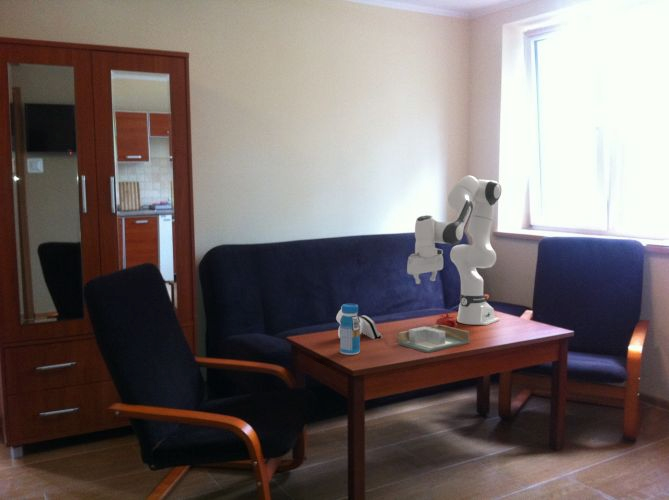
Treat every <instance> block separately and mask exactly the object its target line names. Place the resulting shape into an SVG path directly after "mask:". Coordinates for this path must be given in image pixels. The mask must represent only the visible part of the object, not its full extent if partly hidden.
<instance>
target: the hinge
mask: <svg viewBox="0 0 669 500" xmlns="http://www.w3.org/2000/svg"><path fill="white" fill-rule="evenodd" d="M358 317H359V319H361V320H362V322H363V329H362V332H361V334H362V333H363V334H362V335H364V334H365V335H364V336H366V335H367V336H366V337H368V338H370V339H371V340H375V339H376V338H380V339H383V335H382V334H381V333H380V332H379V331H378V328H377V326H376V323H375V321H374V320H372V319H371V318H370V317H369V316H367V315H365V314H364V315H360V316H359V315H358ZM359 325H360V324H359Z"/></svg>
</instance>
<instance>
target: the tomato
mask: <svg viewBox="0 0 669 500" xmlns="http://www.w3.org/2000/svg"><path fill="white" fill-rule="evenodd" d="M435 322H436V323H435V325H439V324H440V325H444V326H448V327H452V328H456V329H458V323H457V322H456V320H455V317H454V316H451V315H450V314H449V312H446V313H445V315H440V316H439V318H437V319H436V321H435Z"/></svg>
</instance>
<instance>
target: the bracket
mask: <svg viewBox="0 0 669 500" xmlns="http://www.w3.org/2000/svg"><path fill="white" fill-rule="evenodd" d="M408 331H409V342H411V343H414V344H416V343H421V342H428V343H432V344H435V345H442V344H445V331H442V330H438V329H434V328H430V327H429V326H425V325H424V326H421V327H420V326H419V327H415V328H410V329H408Z"/></svg>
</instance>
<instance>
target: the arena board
mask: <svg viewBox="0 0 669 500" xmlns="http://www.w3.org/2000/svg"><path fill="white" fill-rule="evenodd" d="M470 341H471V340H470ZM470 341H466V340H462V339H458V338H454V337H450V336H446V335H445V344H442V345H435V344H432V343H428V342H421V343H416V344H414V343H411V342H409V340H408V341H403V342H398V341H397V345H401V346H404V347H408V348H411V349H413V350H417V351H421V352H423V353H427V354H428V353H432V352H437V351H441V350H444V349H450V348H454V347H458V346H462V345H463V346H464V345H468V344H470V343H471V342H470Z"/></svg>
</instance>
